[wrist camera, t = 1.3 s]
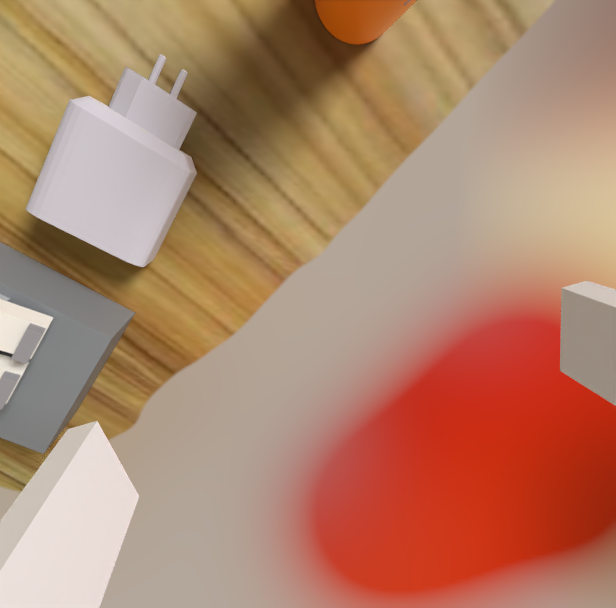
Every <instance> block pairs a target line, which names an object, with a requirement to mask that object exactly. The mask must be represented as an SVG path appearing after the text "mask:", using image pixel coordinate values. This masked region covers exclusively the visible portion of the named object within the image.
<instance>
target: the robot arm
mask: <svg viewBox="0 0 616 608" xmlns="http://www.w3.org/2000/svg"><path fill="white" fill-rule="evenodd" d="M560 352H561V353H560V354H561V355H560V371H562V372H563V373H565V374H566V375H568V376H569V377H571V378H573V379H574V380H576V381H577V382H579V383H581V384H582V385H584V386H585V387H587V388H589V389H590V390H592V391H593V392H595V393H596V394H598V395H600V396H601V397H603V398H605V399H606V400H608V401H609V402H611V403H613V404H614V405H616V290H615V289H612V288H608V287H605V286H602V285H599V284H596V283H592V282H589V281H585V282H581V283H578V284H574V285H571V286H567V287H564V288H562V298H561V351H560ZM138 498H139V495H138V493H137V492H136V490H135V488H134V486H133V484H132V483H131V481H130V479H129V477H128V475H127V474H126V472H125V470H124V468H123V467H122V465H121V463H120V461H119V460H118V457H117V456H116V454H115V452H114V450H113V449H112V447H111V445H110V443H109V441H108V440H107V438H106V436H105V434H104V432H103V431H102V429H101V427H100V425H99V423H98V422H97V421H95V422H92V423H88V424H85V425H81V426H78V427H74V428H71V429H68V430H67V431H66V433H65V434H64V435H63V437H62V438H61V439H60V441H59V442H58V443H57V445H56V446H55V447H54V449H53V450H52V451H51V453H50V454H49V455H48V457H47V458H46V460H45V461H44V462H43V464H42V465H41V466H40V468H39V469H38V470H37V472H36V473H35V474H34V476H33V477H32V478H31V480H30V481H29V482H28V484H27V485H26V487H25V488H24V489H23V491H22V492H21V493H20V495H19V496H18V498H17V499H16V500H15V501H14V503H13V504H12V506H11V507H10V508H9V510H8V511H7V512H6V514H5V515H4V516H3V518H2V519H1V520H0V608H99V606H100V604H101V601H102V598H103V595H104V593H105V590H106V587H107V584H108V581H109V579H110V576H111V573H112V570H113V568H114V565H115V562H116V559H117V556H118V554H119V551H120V548H121V545H122V543H123V540H124V537H125V534H126V531H127V529H128V526H129V523H130V520H131V518H132V515H133V512H134V509H135V507H136V504H137V501H138Z"/></svg>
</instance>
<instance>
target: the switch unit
mask: <svg viewBox="0 0 616 608" xmlns="http://www.w3.org/2000/svg"><path fill="white" fill-rule="evenodd" d="M0 299H2V300H5V301H8V302H10V303H13V304H16V305H19V306H22V307H25V308H28V309H31V310H34V311H37V312H40V313H42V314H45V315H48V316H51V317H54V318H53V319H52V321H51V323H50V325H49V327H48V329H47V331H46V333H45V334H44V336H43V338H42V340H41V342H40V344H39V345H38V347H37V349H36V351H35V353H34V355H33V356H32V358H31V359H29V361H28V362H29V364H28V365H27V367H26V369H25V371H24V373H23V375H22V377H21V379H20V380H19V382H18V384H17V386H16V388H15V390H14V391H13V393H12V395H11V397H10V399H9V401H8V402H7V404H5V405H4V407H3V409H2V410H1V409H0V438H2V439H5V440H8V441H11V442H13V443H16V444H19V445H21V446H24V447H27V448H29V449H32V450H35V451H37V452H40V453H43V454H44V453H45V452H46V450H47V449H48V448H49V447H50V445H51V444H52V443H53V441H54V440H55V439H56V438H57V436H58V435H59V434H60V432H61V431H62V430H63V429H64V427H65V426H66V425H67V423H68V422H69V421H70V420H71V418H72V417H73V416H74V414H75V413H76V412H77V410H78V408H79V407H80V405H81V403H82V402H83V400H84V398H85V397H86V395H87V393H88V391H89V390H90V388H91V386H92V385H93V383H94V381H95V380H96V378H97V376H98V375H99V373H100V371H101V370H102V368H103V366H104V365H105V363H106V361H107V360H108V358H109V356H110V355H111V353H112V351H113V350H114V348H115V346H116V345H117V343H118V341H119V339H120V338H121V336H122V334H123V333H124V331H125V329H126V328H127V326H128V324H129V323H130V321H131V319H132V318H133V316H134V314H135V312H133V311H131V310H129V309H127V308H125V307H123V306H121V305H120V304H118V303H116V302H114V301H112V300H110V299H108V298H106V297H104V296H102V295H100V294H99V293H97V292H95V291H93V290H91V289H89V288H87V287H85V286H83V285H81V284H79V283H78V282H76V281H74V280H72V279H70V278H68V277H66V276H64V275H62V274H60V273H58V272H57V271H55V270H53V269H51V268H49V267H47V266H45V265H43V264H41V263H39V262H37V261H35V260H34V259H32V258H30V257H28V256H26V255H24V254H22V253H20V252H18V251H16V250H14V249H13V248H11V247H9V246H7V245H5V244H3V243H1V242H0ZM0 354H1V355H5V356H9V357H12V356H13V354H11V353H8V352H4V351H1V350H0Z"/></svg>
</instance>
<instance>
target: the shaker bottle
mask: <svg viewBox="0 0 616 608" xmlns="http://www.w3.org/2000/svg"><path fill="white" fill-rule="evenodd" d="M416 1H417V0H315V5H316V9H317V12H318V15H319V17H320V19H321V21H322V23H323V25H324V26H325V27H326V29H327V30H328V31H329V32H330V33H331V34H332V35H333V36H334V37H336V38H337V39H339V40H341V41H342V42H345V43H349V44H357V45H359V44H365V43H368V42H371V41H373V40H375V39H376V38H378V37H379V36H381V35H382V34H383V33H384V32H385V31H386V30H387V29H388V28H389V27H390V26H391V25H392V24H393V23H394V22H395V21H396V20H397V19H398V18H399V17H401V16H402V15H403V14H404V13H405V12H406V11H407V10H408V9H409V8H410V7H411V6H412V5H413V4H414V3H415V2H416Z"/></svg>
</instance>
